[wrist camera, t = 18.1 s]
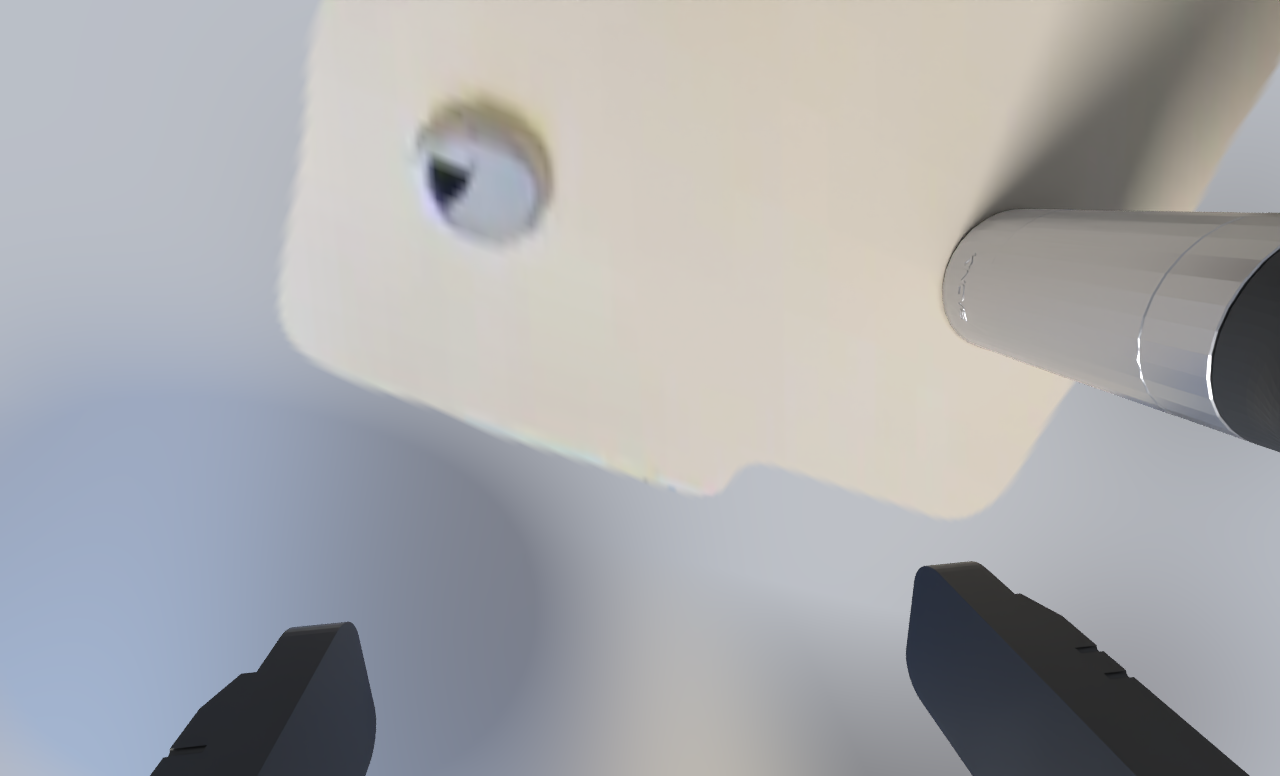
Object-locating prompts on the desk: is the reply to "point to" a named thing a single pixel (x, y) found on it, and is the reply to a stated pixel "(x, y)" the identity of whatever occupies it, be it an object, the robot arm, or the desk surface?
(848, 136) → the desk surface
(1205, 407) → the robot arm
